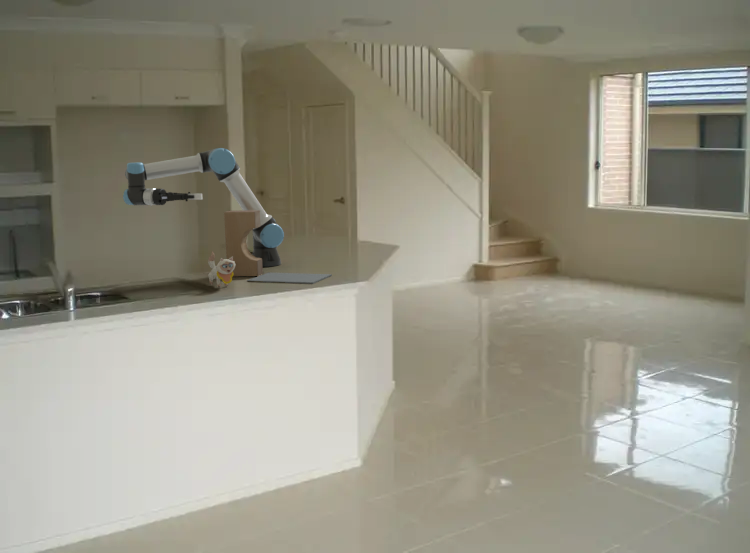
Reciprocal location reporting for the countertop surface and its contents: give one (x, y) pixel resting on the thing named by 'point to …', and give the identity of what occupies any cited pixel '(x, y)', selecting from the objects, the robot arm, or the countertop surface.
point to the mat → (291, 278)
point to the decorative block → (242, 241)
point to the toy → (221, 270)
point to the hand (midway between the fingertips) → (201, 196)
